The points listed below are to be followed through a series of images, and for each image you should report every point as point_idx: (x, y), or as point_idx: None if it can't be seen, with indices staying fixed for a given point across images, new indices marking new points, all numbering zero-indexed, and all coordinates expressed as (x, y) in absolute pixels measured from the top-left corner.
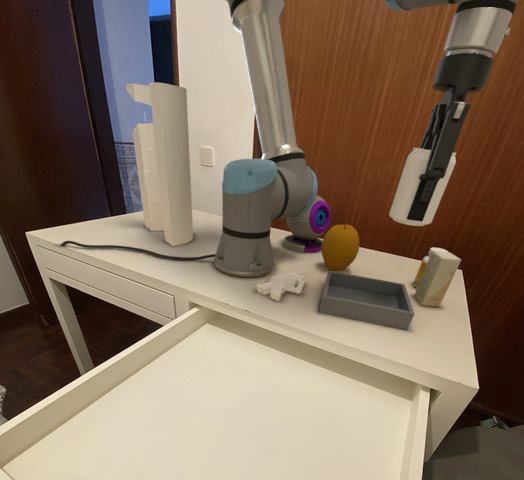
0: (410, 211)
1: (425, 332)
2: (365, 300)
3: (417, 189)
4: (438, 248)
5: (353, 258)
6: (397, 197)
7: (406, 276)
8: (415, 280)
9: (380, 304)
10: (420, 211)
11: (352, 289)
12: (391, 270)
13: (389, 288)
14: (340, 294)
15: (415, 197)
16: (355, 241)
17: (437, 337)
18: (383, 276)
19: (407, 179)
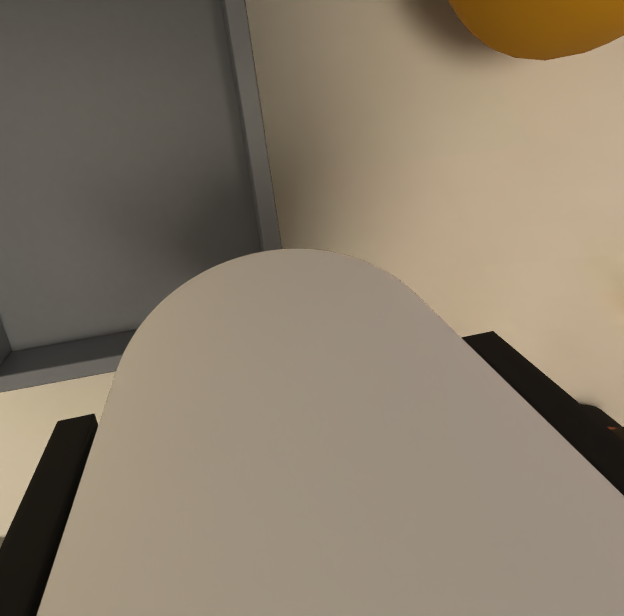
0: (43, 461)
1: (34, 419)
2: (135, 179)
3: (3, 610)
4: None
5: (486, 44)
6: (188, 340)
7: (560, 323)
8: None
9: (139, 248)
10: None
11: (223, 100)
12: (607, 254)
13: None
14: (120, 48)
15: (2, 552)
16: (537, 14)
17: (25, 455)
18: (509, 226)
19: (101, 523)
